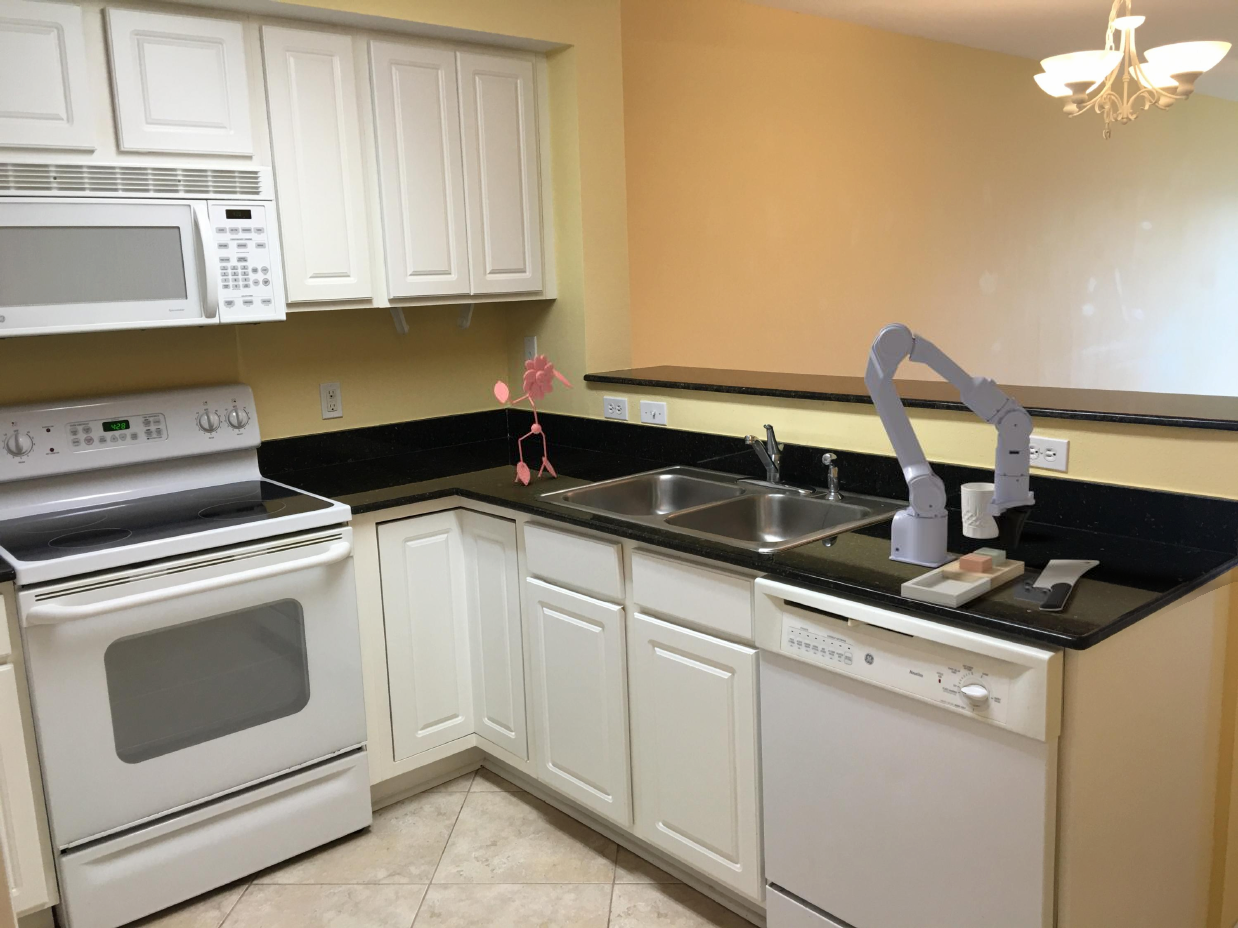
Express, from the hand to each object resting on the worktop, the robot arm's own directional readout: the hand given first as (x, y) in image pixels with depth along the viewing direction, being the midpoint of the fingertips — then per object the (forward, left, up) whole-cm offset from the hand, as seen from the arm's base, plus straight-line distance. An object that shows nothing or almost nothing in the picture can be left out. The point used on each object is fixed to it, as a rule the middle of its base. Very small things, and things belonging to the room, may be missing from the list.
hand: (1009, 547), depth 179 cm
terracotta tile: (0, -13, -1) cm, 13 cm away
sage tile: (0, -8, -1) cm, 8 cm away
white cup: (-14, +17, -3) cm, 22 cm away
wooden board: (0, -10, -3) cm, 11 cm away
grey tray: (0, -23, -3) cm, 23 cm away
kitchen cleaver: (+11, -7, -4) cm, 14 cm away
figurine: (-131, +1, -3) cm, 131 cm away
